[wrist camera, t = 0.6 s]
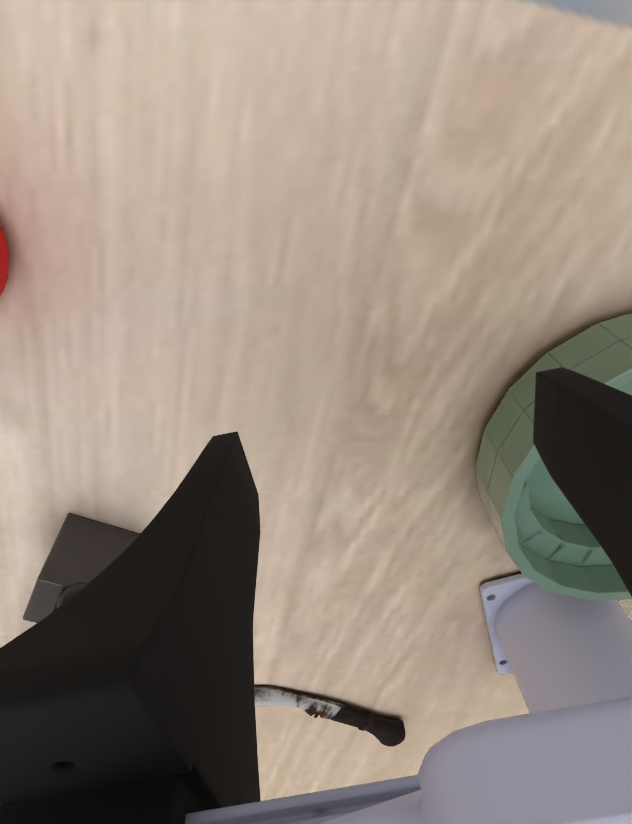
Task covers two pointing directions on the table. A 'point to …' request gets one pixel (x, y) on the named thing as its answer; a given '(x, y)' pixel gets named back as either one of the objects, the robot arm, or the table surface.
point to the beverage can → (3, 259)
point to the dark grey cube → (75, 561)
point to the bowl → (531, 482)
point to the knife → (333, 712)
